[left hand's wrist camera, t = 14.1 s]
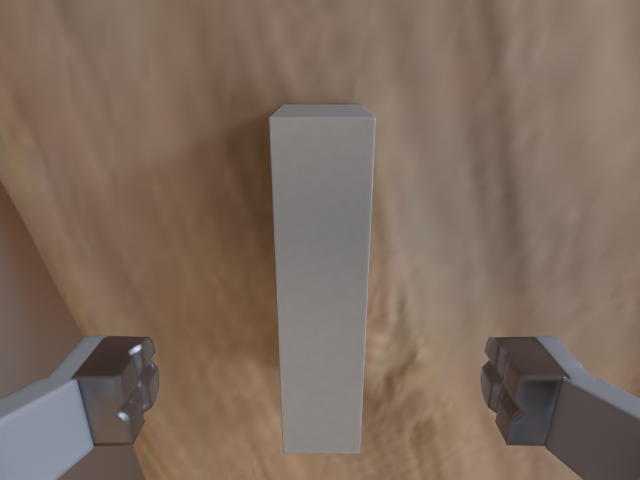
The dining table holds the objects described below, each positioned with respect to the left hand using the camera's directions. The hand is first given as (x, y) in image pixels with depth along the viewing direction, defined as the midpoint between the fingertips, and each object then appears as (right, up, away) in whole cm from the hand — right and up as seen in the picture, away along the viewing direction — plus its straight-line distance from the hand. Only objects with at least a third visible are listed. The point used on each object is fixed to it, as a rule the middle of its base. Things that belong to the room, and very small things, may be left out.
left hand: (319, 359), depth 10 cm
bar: (0, +2, +25) cm, 25 cm away
